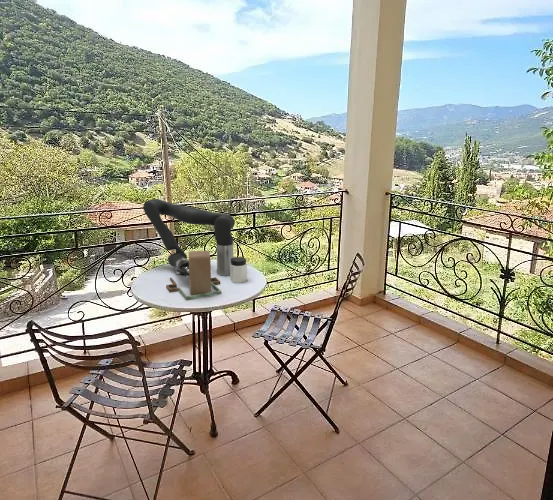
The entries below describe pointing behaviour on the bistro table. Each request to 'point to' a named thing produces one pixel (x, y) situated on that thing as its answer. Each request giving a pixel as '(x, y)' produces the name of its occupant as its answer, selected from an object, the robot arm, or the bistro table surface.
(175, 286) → the notched outline frame
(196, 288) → the block
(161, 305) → the bistro table surface
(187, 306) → the bistro table surface
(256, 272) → the bistro table surface
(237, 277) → the jar
